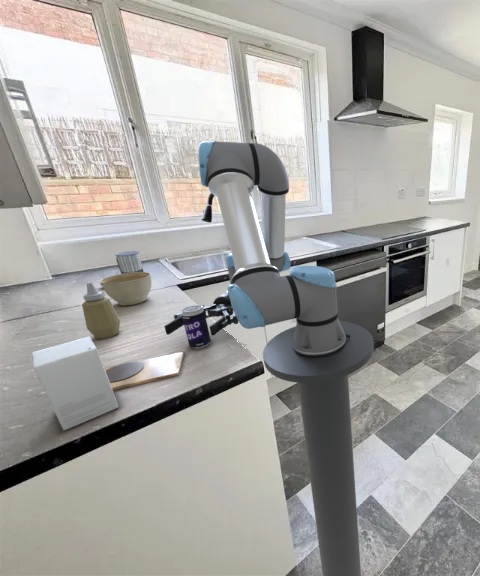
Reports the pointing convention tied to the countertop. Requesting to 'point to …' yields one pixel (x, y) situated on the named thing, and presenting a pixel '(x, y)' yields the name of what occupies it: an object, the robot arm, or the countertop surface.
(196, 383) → the countertop surface
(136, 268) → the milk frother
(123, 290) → the planter bowl
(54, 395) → the rectangular carton
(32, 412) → the countertop surface
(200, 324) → the beverage can
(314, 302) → the robot arm
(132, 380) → the board
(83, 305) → the squeeze bottle
